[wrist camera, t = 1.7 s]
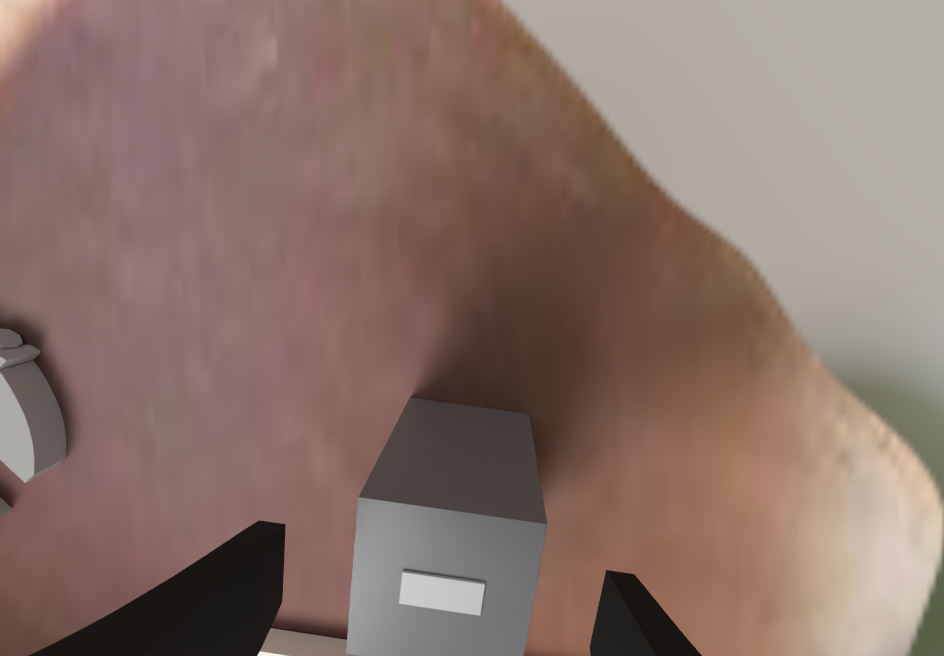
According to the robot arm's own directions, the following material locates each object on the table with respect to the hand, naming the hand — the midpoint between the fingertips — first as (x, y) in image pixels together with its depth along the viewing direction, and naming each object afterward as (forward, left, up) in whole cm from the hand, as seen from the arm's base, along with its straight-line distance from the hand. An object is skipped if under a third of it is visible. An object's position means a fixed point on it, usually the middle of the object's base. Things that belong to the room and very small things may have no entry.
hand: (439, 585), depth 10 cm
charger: (0, 0, -6) cm, 6 cm away
